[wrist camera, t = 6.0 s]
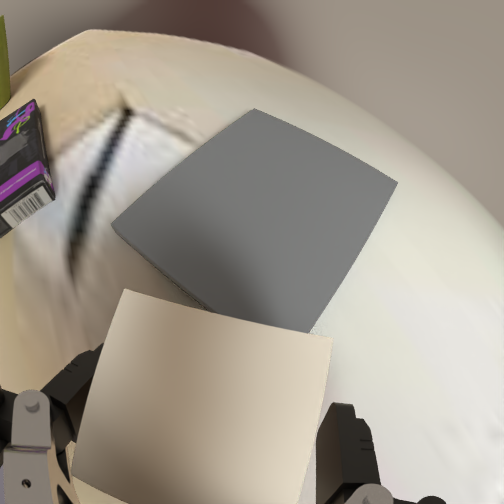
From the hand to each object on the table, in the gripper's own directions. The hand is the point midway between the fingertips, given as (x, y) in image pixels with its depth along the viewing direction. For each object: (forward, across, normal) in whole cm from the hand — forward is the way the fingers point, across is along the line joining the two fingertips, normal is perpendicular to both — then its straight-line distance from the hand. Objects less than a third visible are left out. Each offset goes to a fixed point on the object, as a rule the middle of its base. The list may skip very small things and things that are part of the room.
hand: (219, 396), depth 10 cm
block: (+3, 0, +4) cm, 5 cm away
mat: (+13, 0, -5) cm, 14 cm away
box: (+12, +30, -4) cm, 32 cm away
